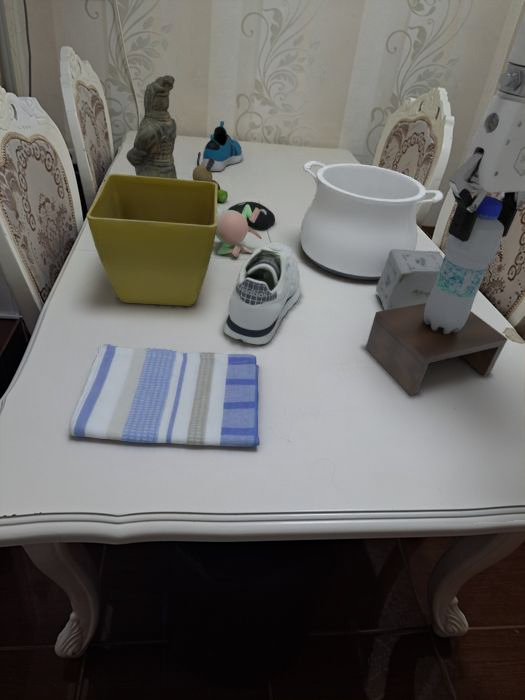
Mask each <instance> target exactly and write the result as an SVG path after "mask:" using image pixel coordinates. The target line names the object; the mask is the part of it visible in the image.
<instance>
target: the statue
mask: <svg viewBox="0 0 525 700" xmlns="http://www.w3.org/2000/svg"><path fill="white" fill-rule="evenodd" d="M175 81H176V80H175V77H174V76H172V75H167V74H166V75H164V76H159V77H157V78H156V79H155V80H154V81H152V82H151V83H148V84H147V85H146V87H145V90H144V93H143V107H144V115H143V118H142V120H141V121H140V123H139V125H138V126H139V127H138V129H137V132H136V135H135V138H134V141H133V147H132V148H131V149H129V150H128V151H126V152H127V153H126V155H125V156H126V160H127V161H128V162H129V164H130V165H131V166H132V167H134V170H135V171H134V172H135V175H136V176H148V177H160V178H172V179H178V176H177V171H176V164H175V161H174V160H175V158H174V154H173V153H174V150H175V144H176V139H177V129H178V127H177V123H176V120H175V119H174V118H172V116H171V113H170V112H169V111H168V110H169V108H170V94H171V91H172V90H173V89H174V84H175Z"/></svg>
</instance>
